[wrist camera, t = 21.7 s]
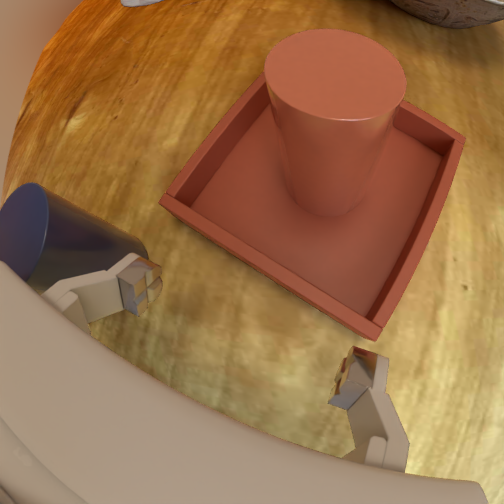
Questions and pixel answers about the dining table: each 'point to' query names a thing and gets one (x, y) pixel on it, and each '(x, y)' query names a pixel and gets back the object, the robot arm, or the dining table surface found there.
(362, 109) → the terracotta canister
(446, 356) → the dining table surface
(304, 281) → the rust tray
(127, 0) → the grey disc with holes
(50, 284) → the slate-blue canister
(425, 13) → the bowl
